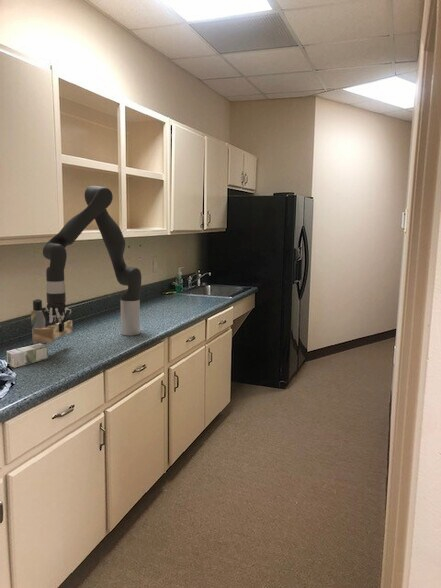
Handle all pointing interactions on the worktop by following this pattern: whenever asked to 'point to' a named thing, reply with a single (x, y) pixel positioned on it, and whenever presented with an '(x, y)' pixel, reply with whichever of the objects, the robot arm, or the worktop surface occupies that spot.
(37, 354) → the syrup box
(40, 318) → the lotion bottle
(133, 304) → the robot arm
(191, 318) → the worktop surface
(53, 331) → the tan wooden block
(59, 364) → the worktop surface
